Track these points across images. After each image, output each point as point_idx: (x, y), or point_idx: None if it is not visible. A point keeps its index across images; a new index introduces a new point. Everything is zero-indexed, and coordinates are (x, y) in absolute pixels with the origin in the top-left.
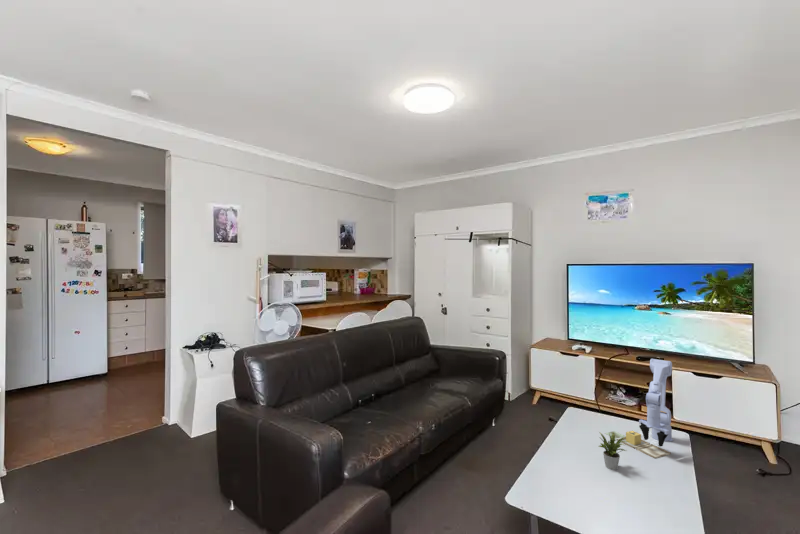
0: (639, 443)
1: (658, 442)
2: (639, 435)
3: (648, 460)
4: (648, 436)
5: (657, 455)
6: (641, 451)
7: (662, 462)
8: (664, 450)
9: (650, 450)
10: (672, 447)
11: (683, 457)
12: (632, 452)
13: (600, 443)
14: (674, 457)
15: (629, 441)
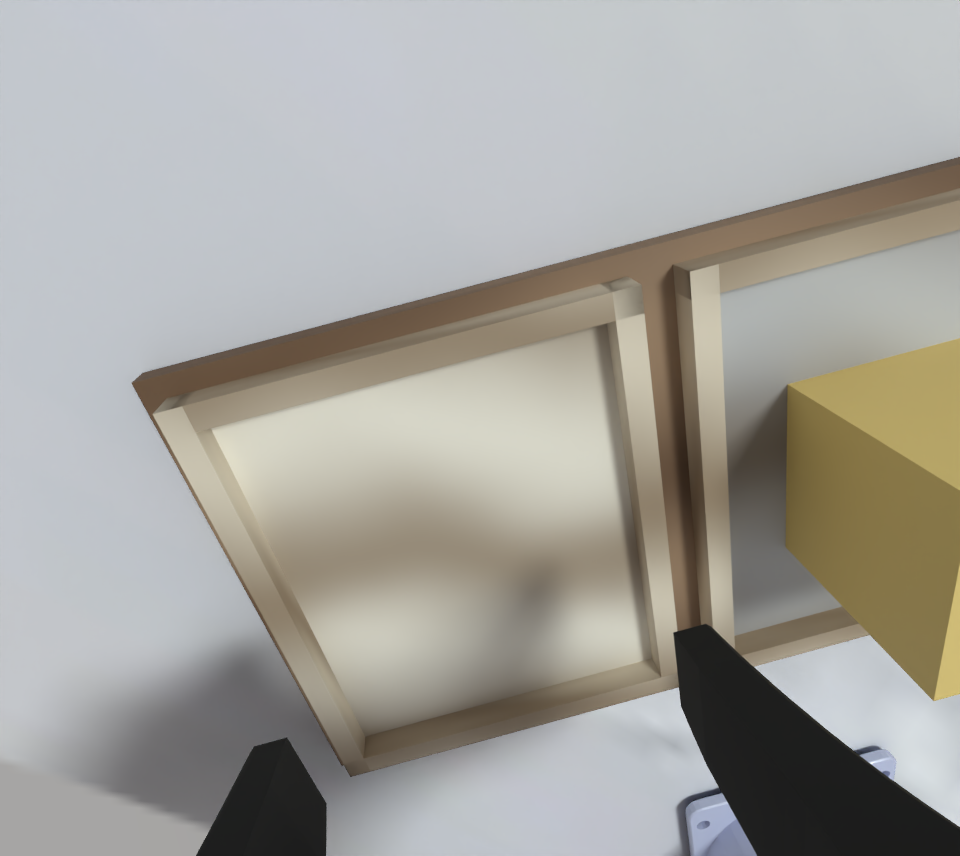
0: (793, 520)
1: (243, 841)
2: (926, 644)
3: (140, 218)
4: (722, 790)
5: (312, 538)
6: (492, 317)
7: (72, 466)
8: (442, 735)
9: (519, 541)
10: (568, 849)
11: None
12: (572, 112)
13: None
14: None
15: (931, 363)
